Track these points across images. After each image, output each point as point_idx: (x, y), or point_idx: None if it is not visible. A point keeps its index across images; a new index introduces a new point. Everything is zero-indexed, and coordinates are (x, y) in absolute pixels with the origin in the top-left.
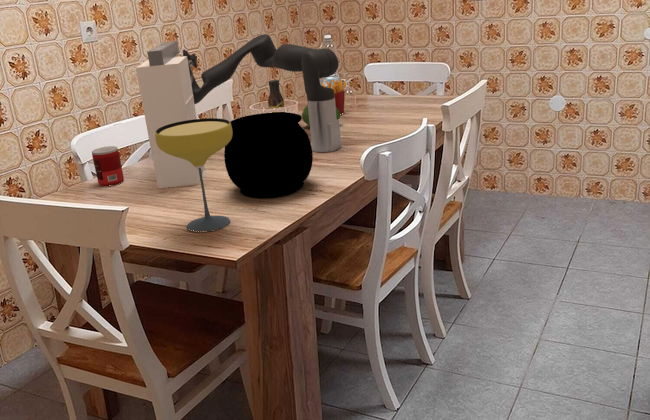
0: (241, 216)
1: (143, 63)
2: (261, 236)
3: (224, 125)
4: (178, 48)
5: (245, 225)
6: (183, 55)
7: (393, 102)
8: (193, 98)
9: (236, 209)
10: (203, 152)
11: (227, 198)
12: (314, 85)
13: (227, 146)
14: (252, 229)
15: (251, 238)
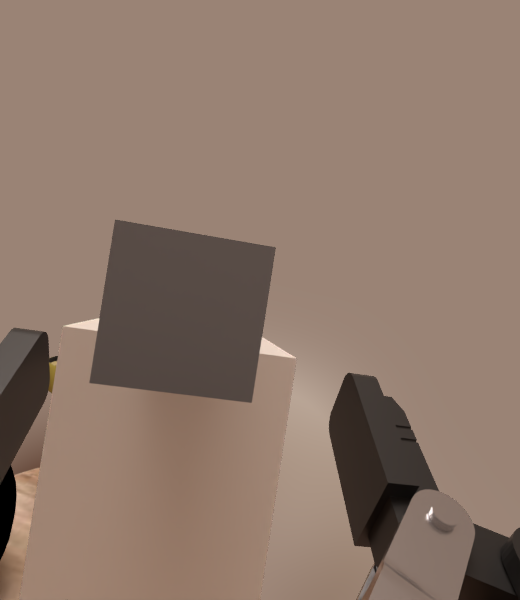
0: (22, 521)
1: (264, 340)
2: (22, 478)
3: (56, 364)
4: (102, 319)
5: (29, 500)
6: (42, 395)
7: None
8: (22, 585)
9: (18, 542)
10: None
11: (13, 589)
12: None
13: (12, 470)
14: (25, 491)
15: (36, 478)
